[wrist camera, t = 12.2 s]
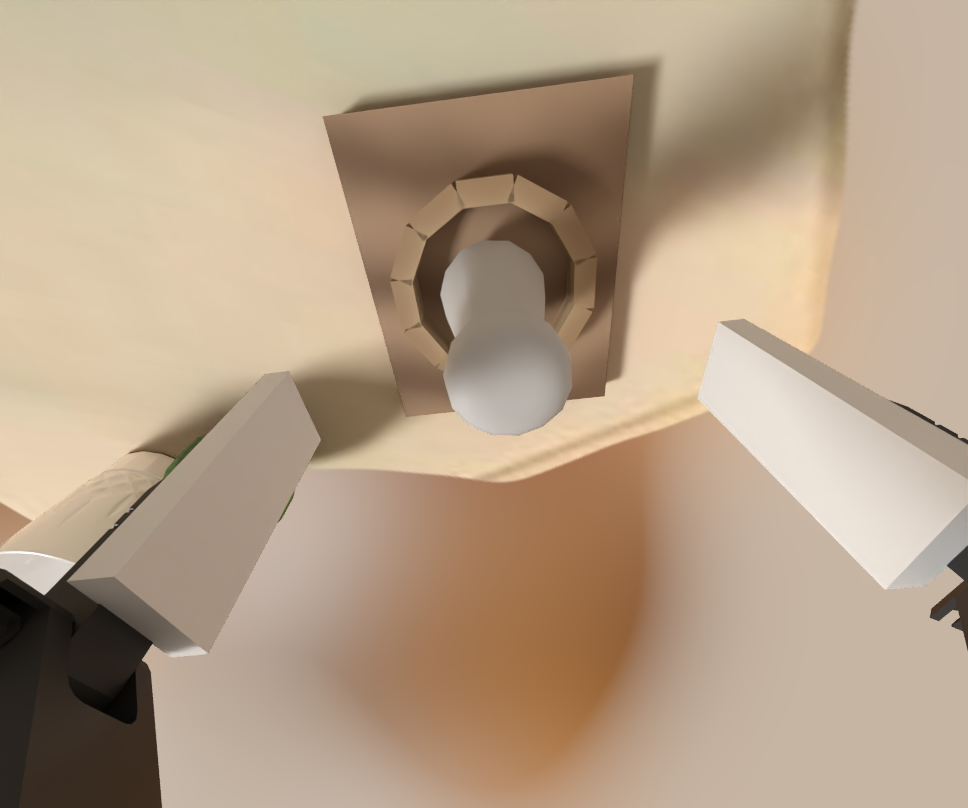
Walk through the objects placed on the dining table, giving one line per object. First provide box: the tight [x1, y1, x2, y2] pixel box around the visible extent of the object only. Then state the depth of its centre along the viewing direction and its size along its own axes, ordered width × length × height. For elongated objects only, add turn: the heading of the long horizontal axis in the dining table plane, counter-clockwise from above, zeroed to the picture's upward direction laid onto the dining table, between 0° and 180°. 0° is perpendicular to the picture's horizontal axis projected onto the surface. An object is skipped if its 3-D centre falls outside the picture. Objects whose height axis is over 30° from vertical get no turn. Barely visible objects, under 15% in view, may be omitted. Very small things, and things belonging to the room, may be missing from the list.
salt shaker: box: [440, 240, 572, 436], centre depth 17 cm, size 6×6×13 cm
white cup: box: [0, 451, 175, 595], centre depth 28 cm, size 8×8×10 cm
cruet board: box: [323, 74, 634, 417], centre depth 22 cm, size 18×15×4 cm
